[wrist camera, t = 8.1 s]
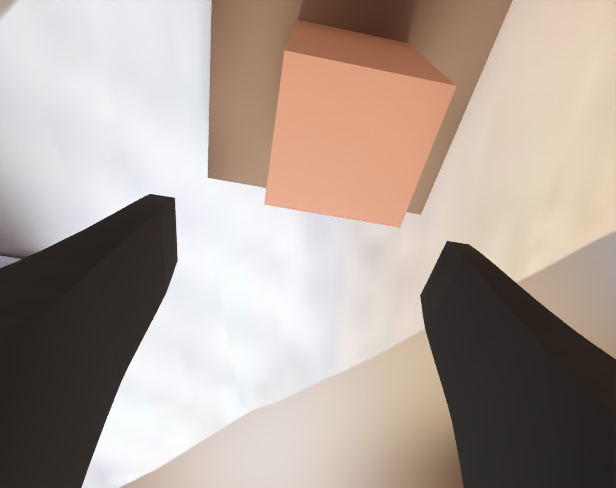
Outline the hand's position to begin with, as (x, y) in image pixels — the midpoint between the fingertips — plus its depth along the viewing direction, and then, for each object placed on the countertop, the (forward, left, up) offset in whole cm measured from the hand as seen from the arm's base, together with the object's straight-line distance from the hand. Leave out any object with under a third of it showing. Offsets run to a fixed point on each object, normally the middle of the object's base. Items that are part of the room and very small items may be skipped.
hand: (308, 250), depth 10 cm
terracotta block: (+1, +3, -7) cm, 8 cm away
